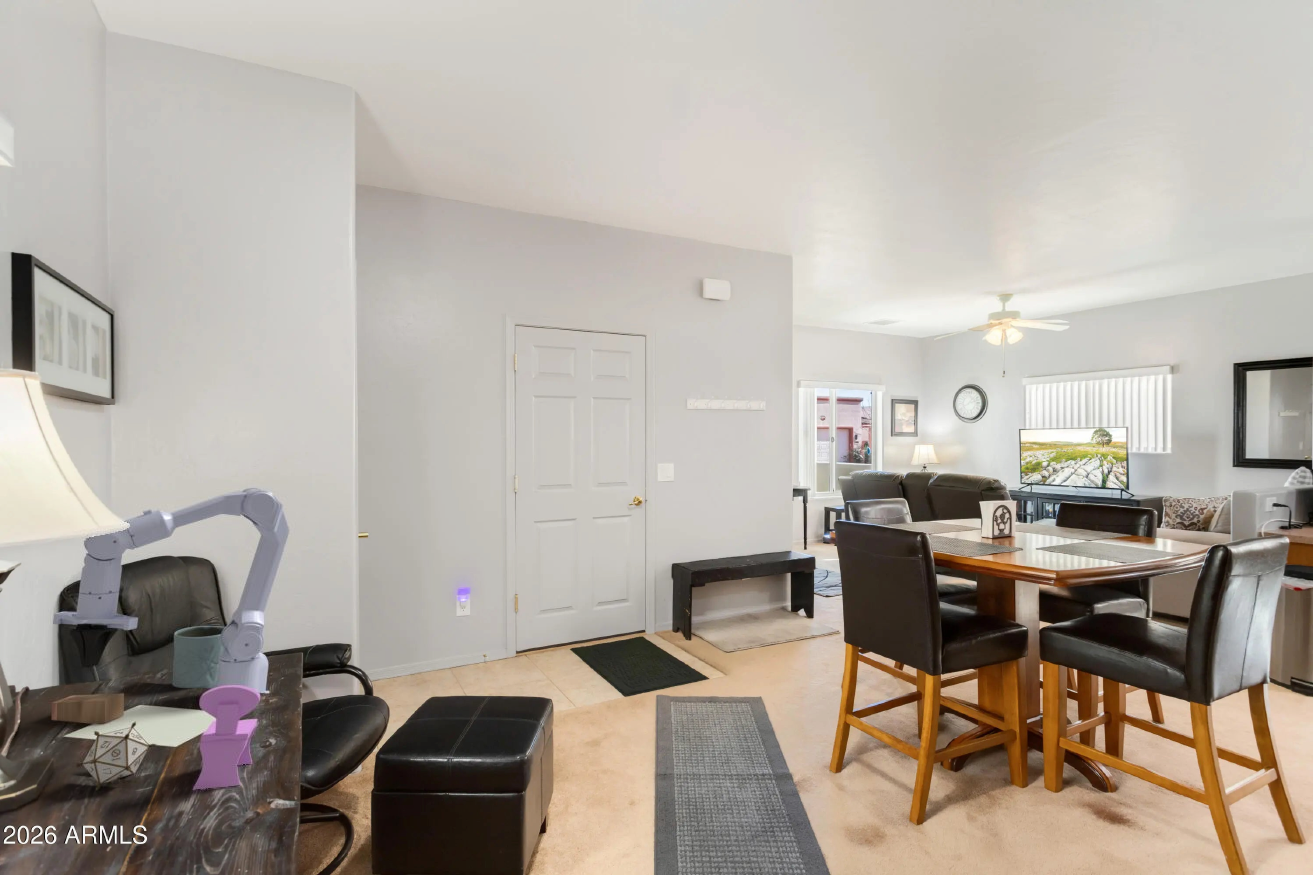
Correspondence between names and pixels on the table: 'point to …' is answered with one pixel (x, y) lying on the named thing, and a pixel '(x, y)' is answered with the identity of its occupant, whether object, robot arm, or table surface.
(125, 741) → the game die
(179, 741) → the board
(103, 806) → the table surface
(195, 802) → the table surface
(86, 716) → the walnut block
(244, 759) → the toy chair
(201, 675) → the green cylindrical pot
